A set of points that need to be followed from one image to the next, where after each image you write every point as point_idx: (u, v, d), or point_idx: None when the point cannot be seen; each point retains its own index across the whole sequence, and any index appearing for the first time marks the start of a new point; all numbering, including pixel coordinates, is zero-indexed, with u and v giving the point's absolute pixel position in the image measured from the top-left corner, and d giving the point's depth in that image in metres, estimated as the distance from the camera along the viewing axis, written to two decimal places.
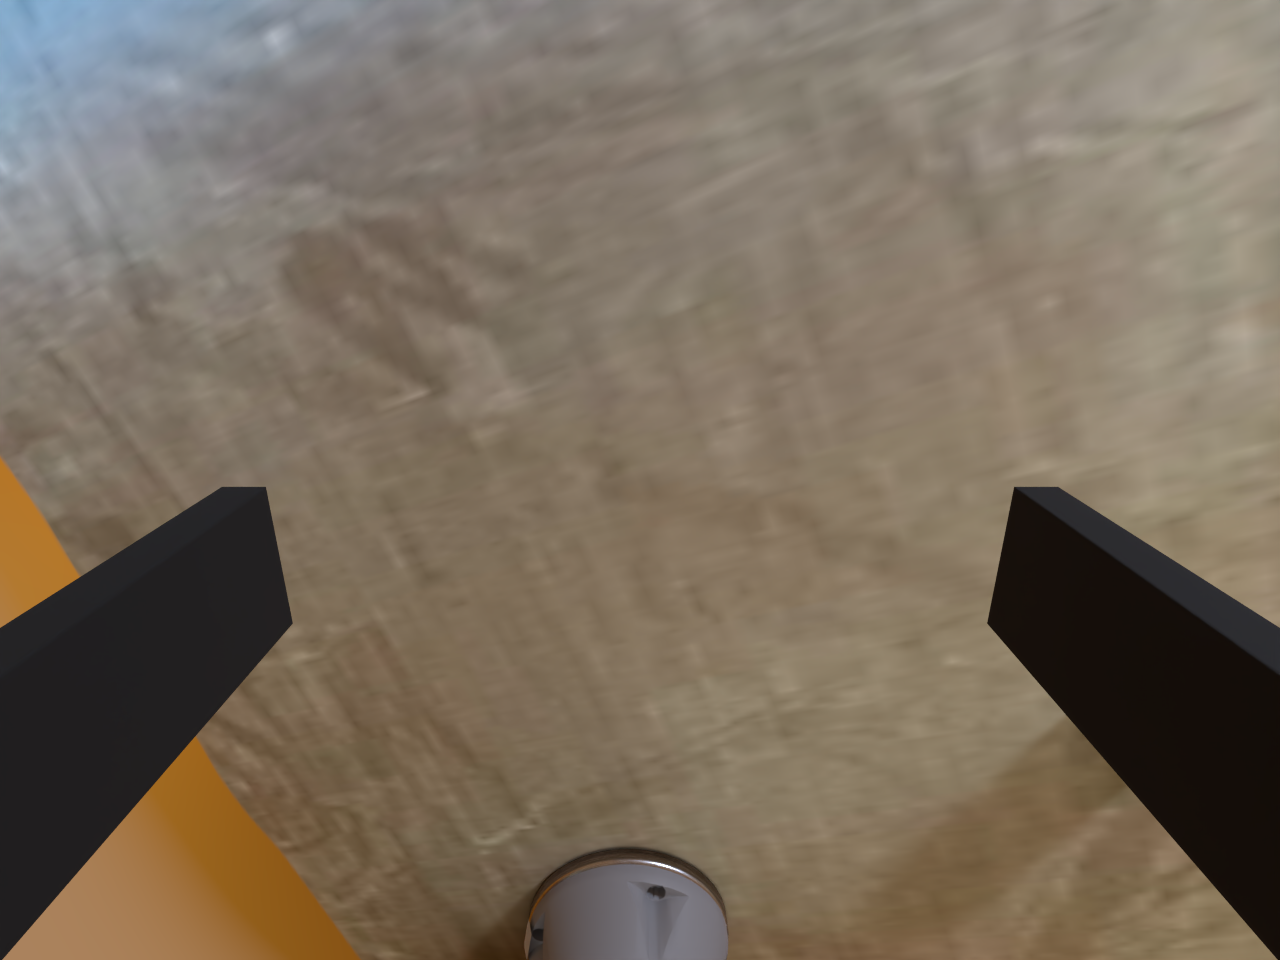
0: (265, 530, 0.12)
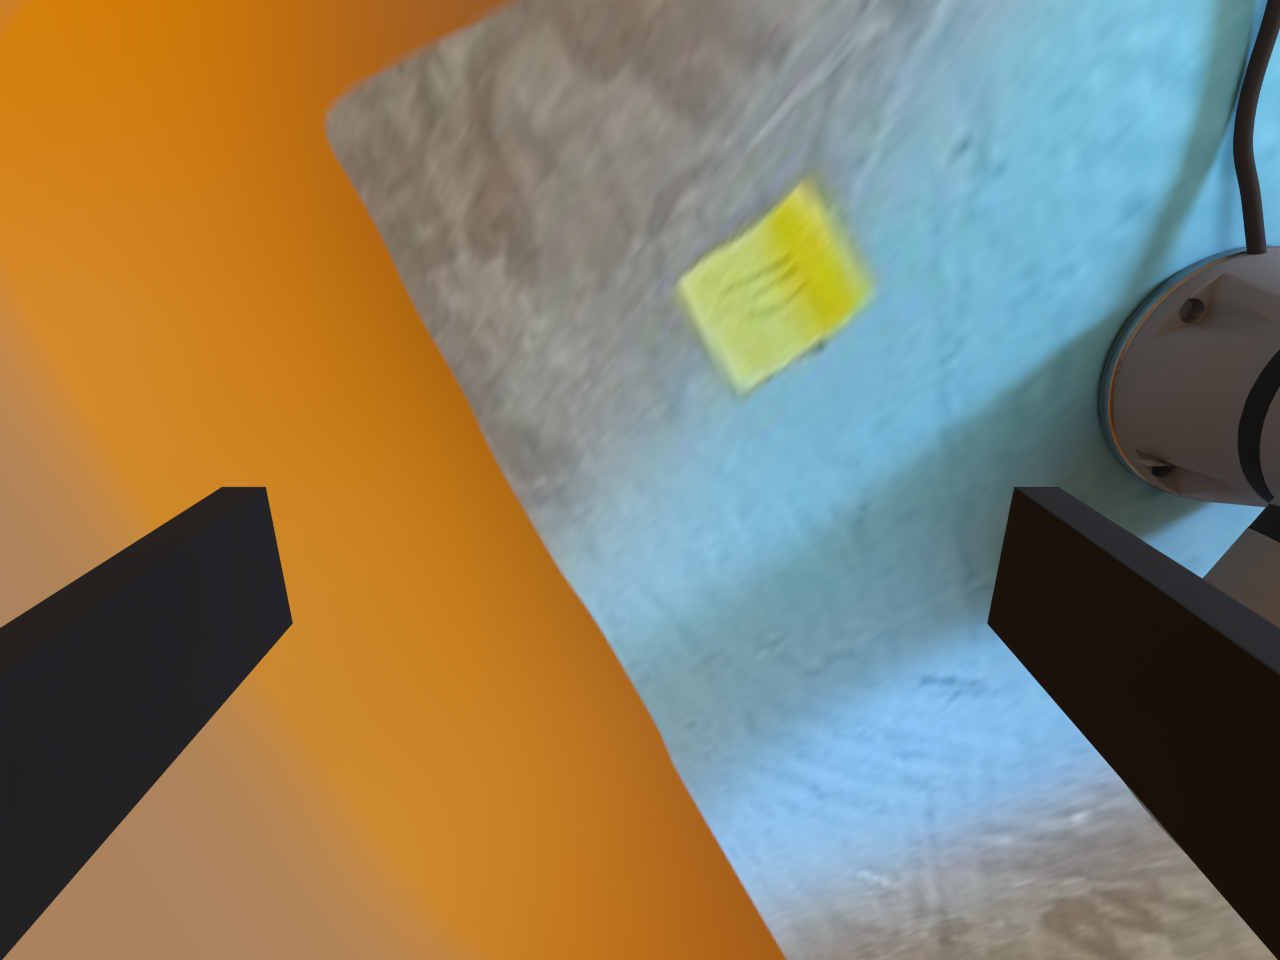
0: (265, 529, 0.12)
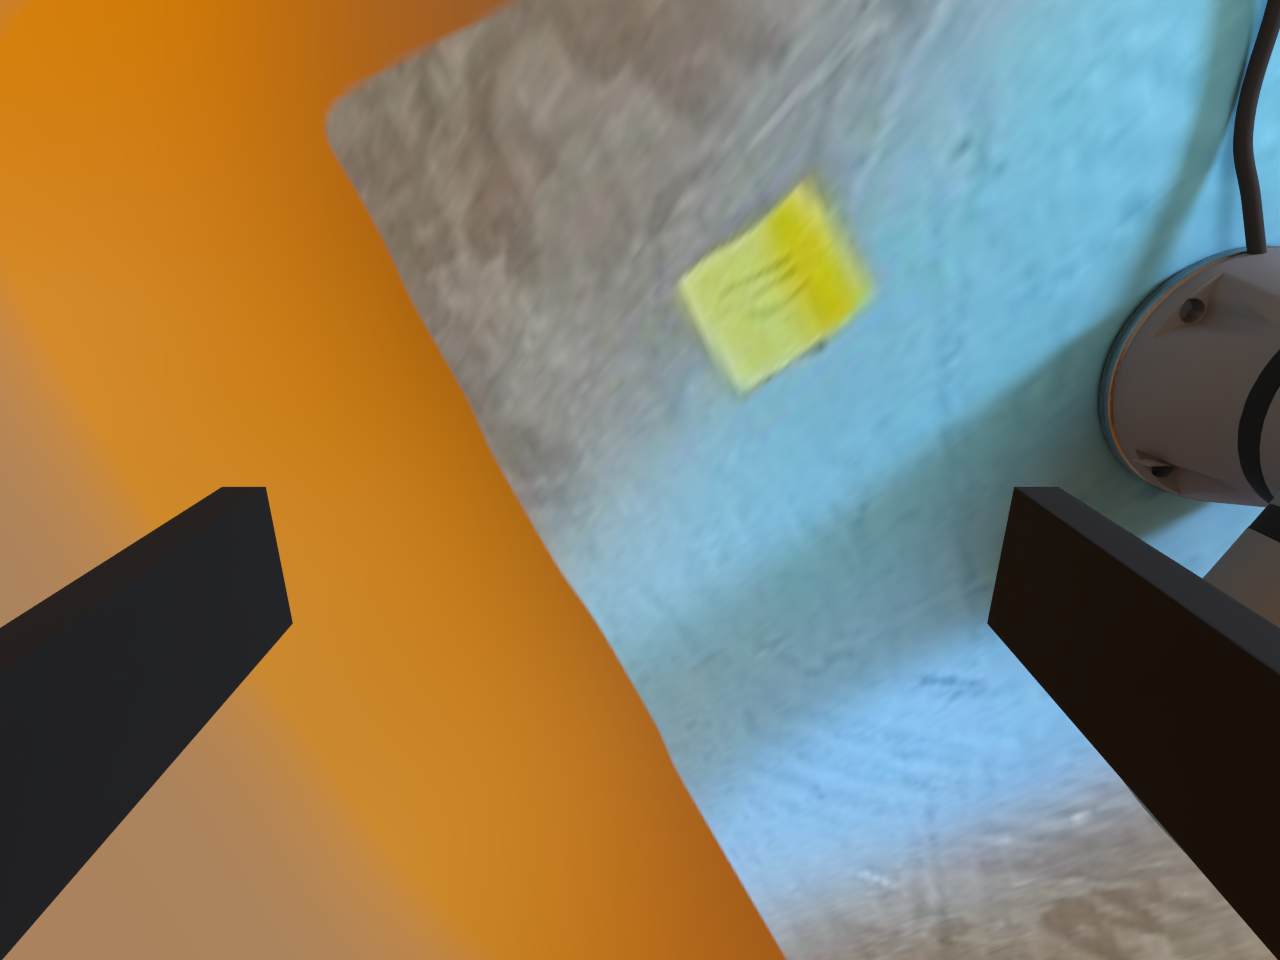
0: (265, 529, 0.12)
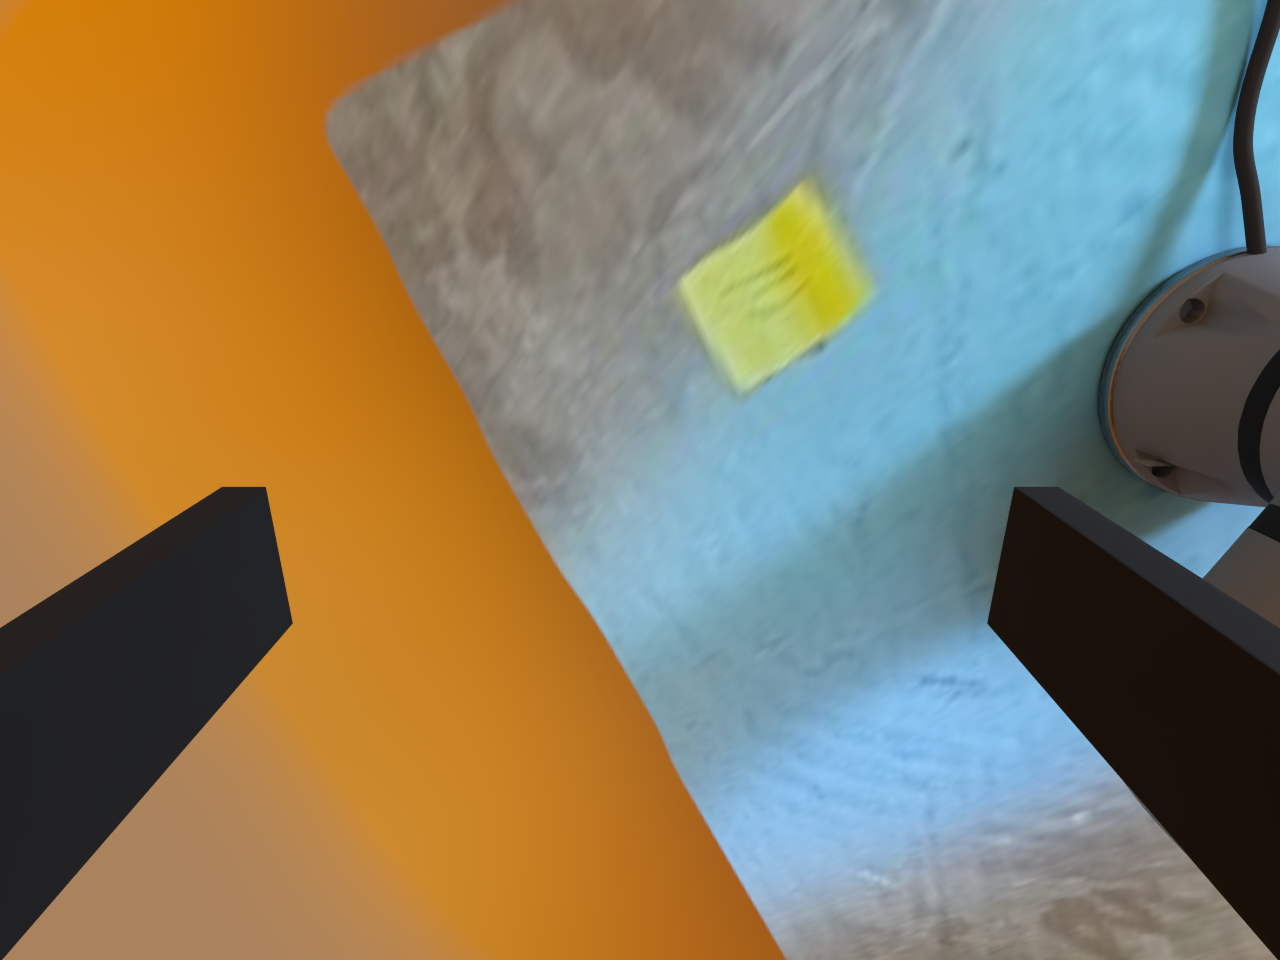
0: (265, 529, 0.12)
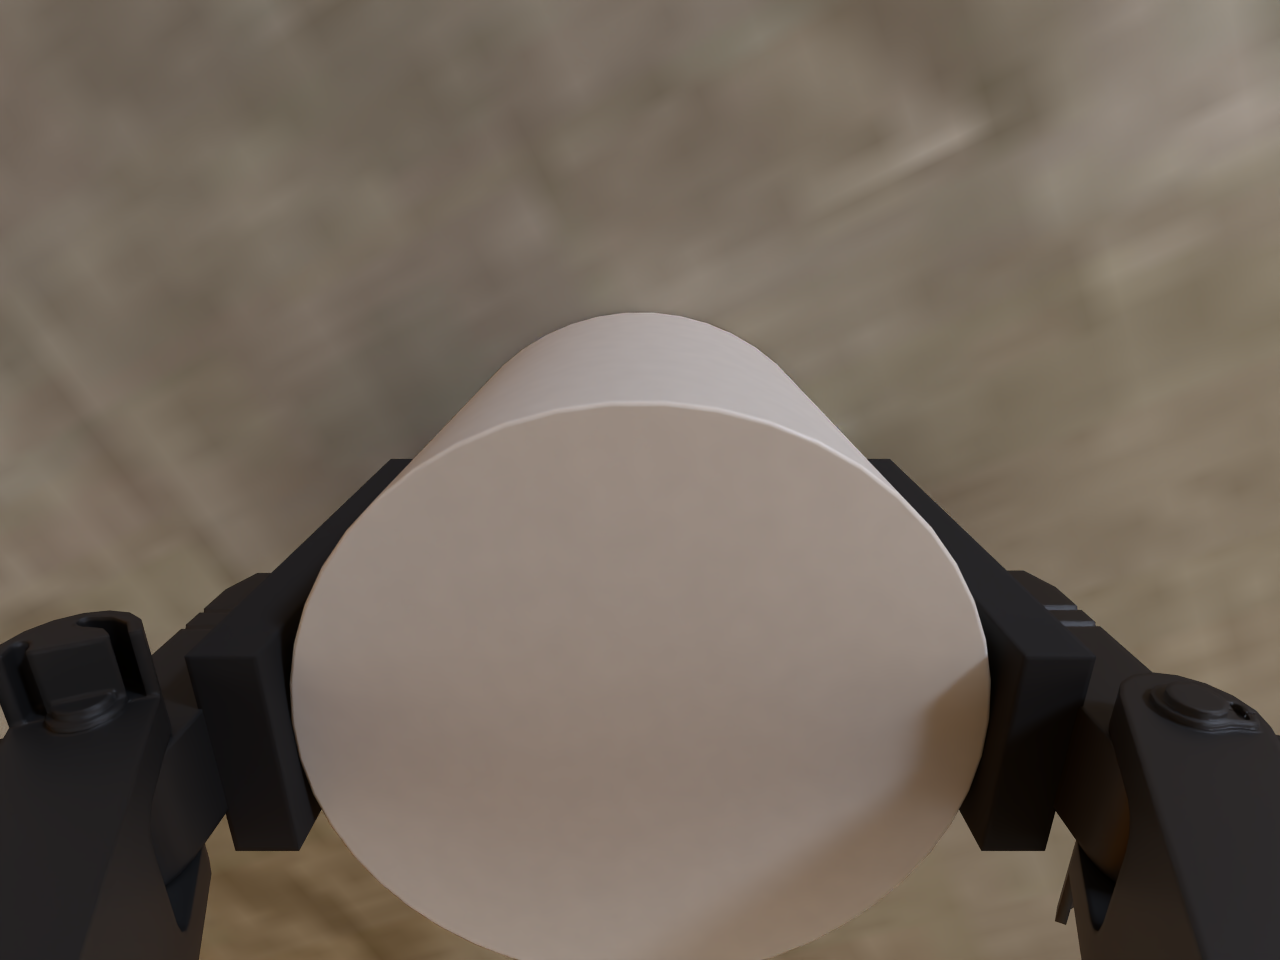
0: None
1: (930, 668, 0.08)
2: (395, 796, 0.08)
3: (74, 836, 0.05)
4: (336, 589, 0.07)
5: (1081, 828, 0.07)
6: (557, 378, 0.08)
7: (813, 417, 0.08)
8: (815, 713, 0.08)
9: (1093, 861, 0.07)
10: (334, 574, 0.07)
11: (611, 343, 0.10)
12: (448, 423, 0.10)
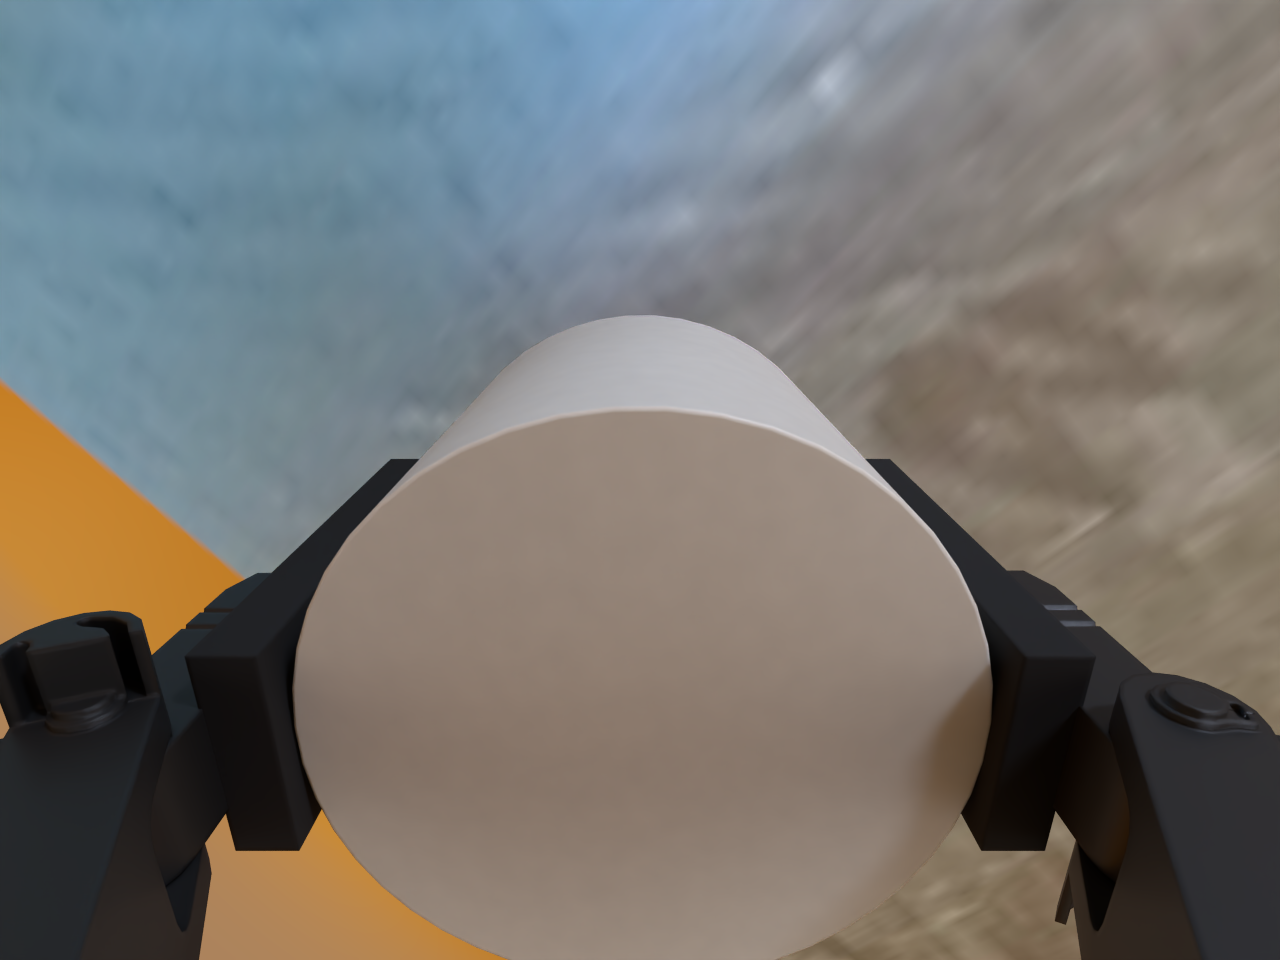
0: None
1: (932, 672, 0.08)
2: (397, 800, 0.08)
3: (75, 836, 0.05)
4: (339, 594, 0.07)
5: (1081, 828, 0.07)
6: (559, 382, 0.08)
7: (815, 421, 0.08)
8: (817, 717, 0.08)
9: (1092, 861, 0.07)
10: (337, 579, 0.07)
11: (613, 347, 0.10)
12: (450, 427, 0.10)
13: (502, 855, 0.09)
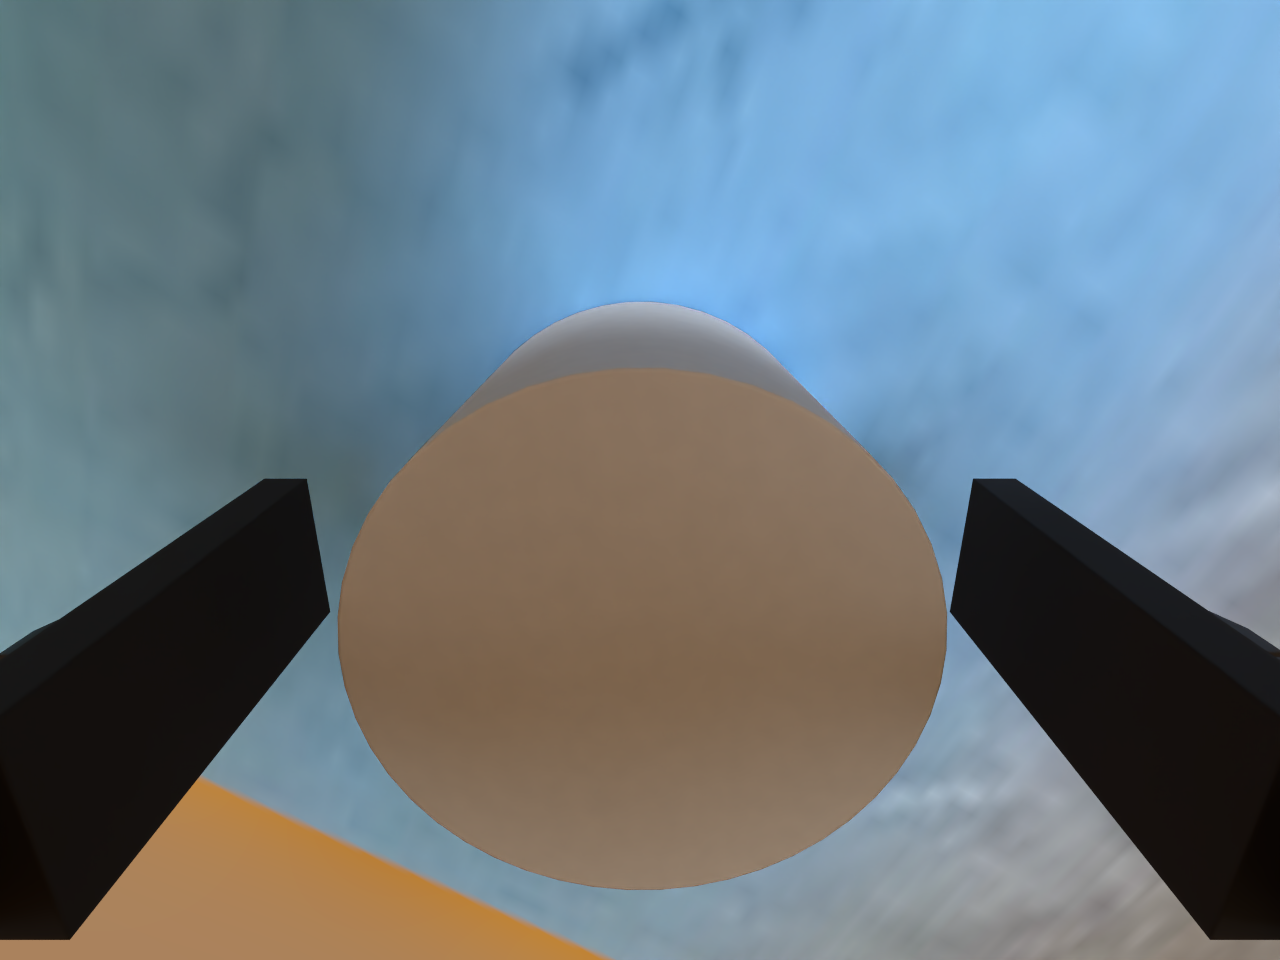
0: (306, 520, 0.12)
1: (894, 603, 0.09)
2: (427, 720, 0.10)
3: None
4: (380, 533, 0.09)
5: None
6: (569, 353, 0.09)
7: (793, 388, 0.10)
8: (795, 645, 0.09)
9: None
10: (379, 520, 0.09)
11: (616, 326, 0.11)
12: (471, 396, 0.11)
13: (518, 771, 0.10)
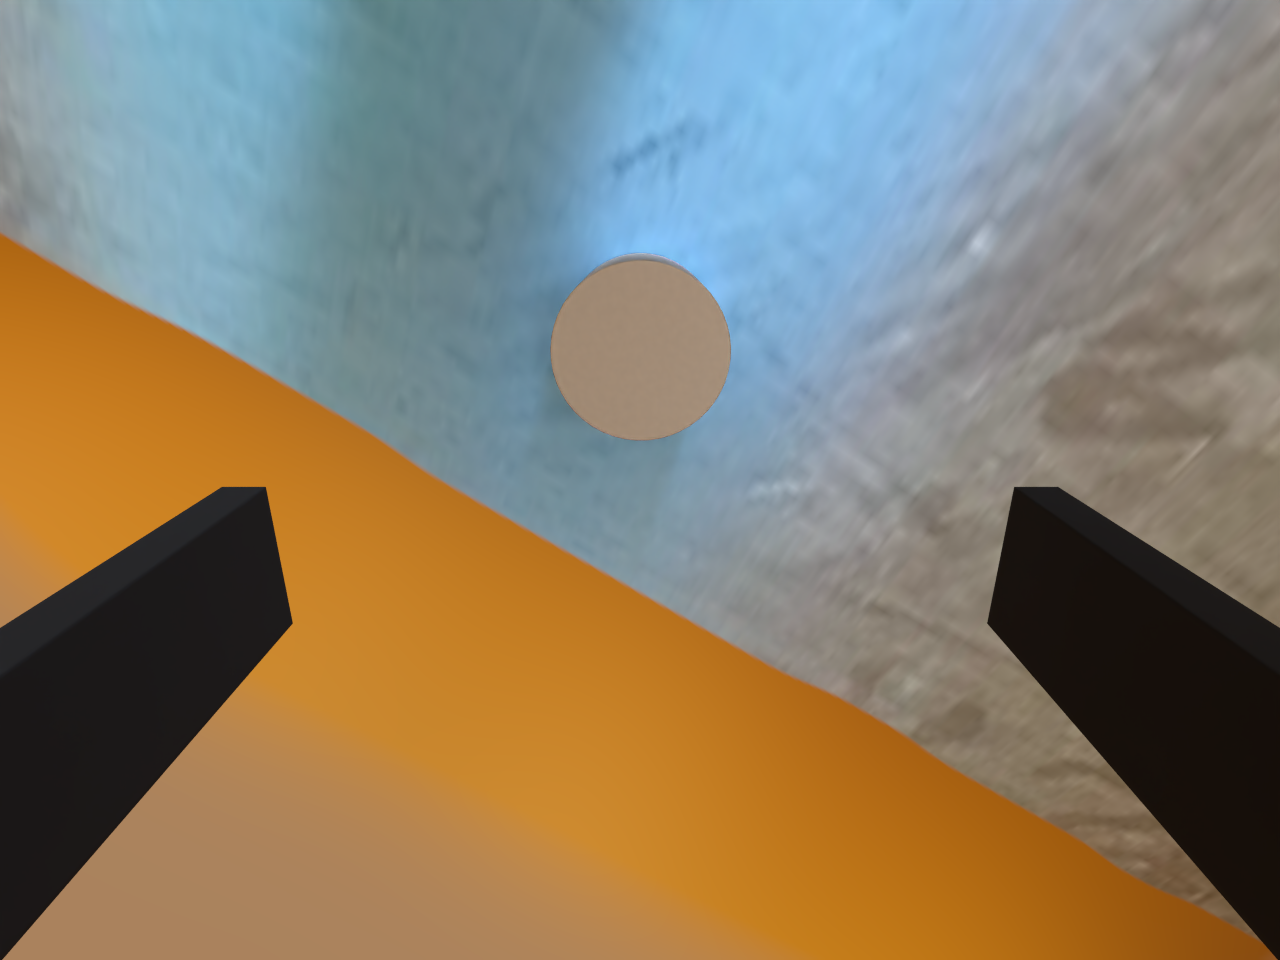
0: (264, 529, 0.12)
1: (713, 332, 0.31)
2: (575, 373, 0.32)
3: None
4: (566, 309, 0.31)
5: None
6: (618, 261, 0.32)
7: (686, 271, 0.32)
8: (685, 346, 0.31)
9: None
10: (566, 305, 0.31)
11: (631, 256, 0.33)
12: None
13: (602, 391, 0.32)
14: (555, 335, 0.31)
